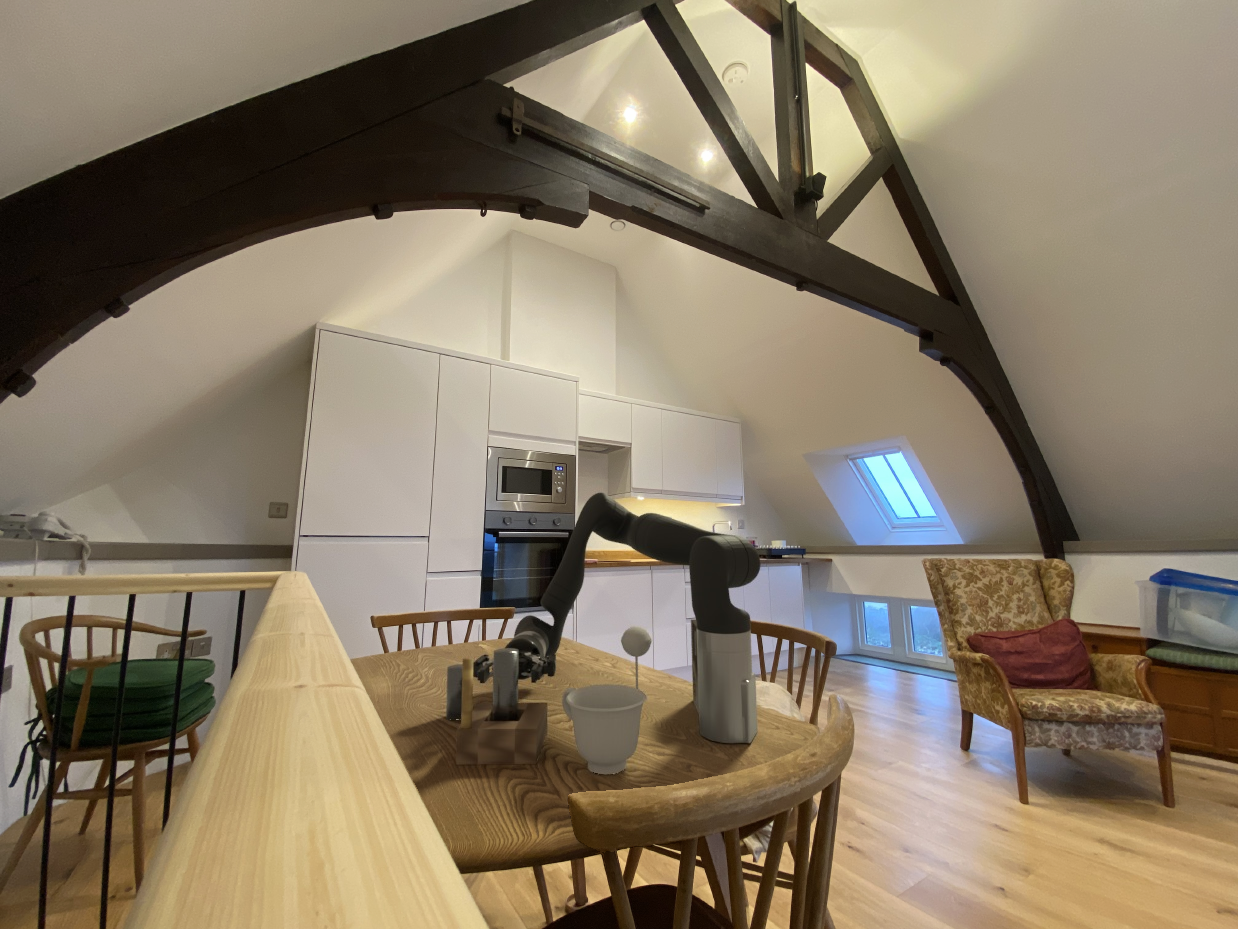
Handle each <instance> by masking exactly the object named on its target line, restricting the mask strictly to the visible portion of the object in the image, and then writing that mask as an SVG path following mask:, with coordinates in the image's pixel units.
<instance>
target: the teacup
mask: <svg viewBox="0 0 1238 929" xmlns="http://www.w3.org/2000/svg"><path fill="white" fill-rule="evenodd" d="M647 699H648V697H647V694H646V693H645V692H644V691H642V690H641V689H639V688H638V689H637V688H636V687H633V686H630V685H623V684H609V683H608V684H593V685H588V686H583V687H579V688H575V687H568V688H566V689H565V690H564V692H563V693H562V698H561V704H562V708H563V711H564V713H565V715H566V717H568V718H569V720H571V721H572V725H573V734H574V735H573V736H574V741H575V746H576V748H577V751H578V754H579V755H580V756H581V758H583V759H584V760H585V761H587V769H588V770H589V771H590V772H591V773H593V772H594V773H593V774H595V773H598V774H597V775H599V774H613V773H617V772H620V771H622V770H623V771H625V770H626V768H627V760H628V759H630V758H631V757H632V756H633V755H634V753H635V752H636V750H637V748H638V743H639V738H640V730H641V728H640V727H641V718H642V716H641V715H642V710H643V709H642V708H643V706H644V703H646V701H647ZM625 767H626V768H625ZM624 769H625V770H624ZM623 771H622V772H623ZM620 773H621V772H620ZM617 774H618V773H617ZM613 775H614V774H613Z"/></svg>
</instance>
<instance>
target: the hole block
mask: <svg viewBox="0 0 1238 929" xmlns="http://www.w3.org/2000/svg"><path fill="white" fill-rule="evenodd" d="M473 662H474V658H473V657H465V658H462V664H463V665H462V711H461V720H460V721H461V722H460V725H459V726H458V728H456V743H455V744H456V746H455V748H456V750H455V752H456V753H455V765H533V764H534V765H537V763H538V760H539V757H540V754H541V751H542V750H543V747H542V746H544V744H545V741H546V738H547V735H548V702H518V721H492V713H493V702H479V703H478V702H477V704H476V705H475V706H474V708H473V703H474V702H473V700H474V699H473V698H474V696H473V694H474V693H473V691H474V684H473V683H474V677H473ZM544 740H545V741H544ZM543 743H544V744H543Z"/></svg>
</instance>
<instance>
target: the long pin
mask: <svg viewBox="0 0 1238 929" xmlns="http://www.w3.org/2000/svg"><path fill="white" fill-rule="evenodd" d="M493 657H494V662H493V677H492V703H493V713H492V721H518V703H519V680H518V661H519V650H518V649H514V648H505V647H504V648H498V649H495V650H493Z"/></svg>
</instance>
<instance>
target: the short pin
mask: <svg viewBox="0 0 1238 929" xmlns="http://www.w3.org/2000/svg"><path fill="white" fill-rule="evenodd" d="M462 665H463V663H459V664H457V663H456V664H451V665H449V666H448V667H447V671H446V703H445V704H446V705H445V706H446V708H445V714H446V716H445V719H446V718H447V719H451V720H456V719H461V711H462ZM447 719H446V720H447ZM451 720H450V721H451Z"/></svg>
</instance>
